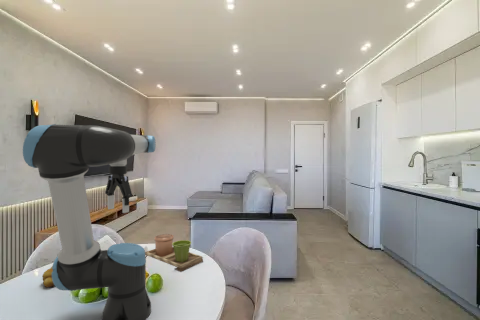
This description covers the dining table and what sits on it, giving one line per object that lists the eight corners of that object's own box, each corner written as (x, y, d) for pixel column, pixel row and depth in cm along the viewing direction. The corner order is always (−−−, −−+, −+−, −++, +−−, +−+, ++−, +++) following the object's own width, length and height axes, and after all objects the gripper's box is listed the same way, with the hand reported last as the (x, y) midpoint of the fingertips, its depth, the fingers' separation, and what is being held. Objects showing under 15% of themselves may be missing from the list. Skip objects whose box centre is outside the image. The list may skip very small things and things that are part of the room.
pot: (177, 252, 138) (177, 236, 138) (162, 258, 130) (161, 241, 130) (166, 248, 144) (166, 233, 144) (150, 254, 136) (150, 237, 136)
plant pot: (170, 258, 130) (170, 241, 130) (188, 255, 134) (188, 239, 134) (174, 265, 122) (174, 247, 122) (193, 261, 126) (193, 244, 126)
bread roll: (54, 290, 102) (54, 270, 102) (32, 288, 103) (32, 269, 103) (77, 275, 115) (77, 257, 115) (58, 274, 116) (58, 257, 116)
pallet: (202, 261, 129) (202, 256, 129) (180, 271, 118) (180, 266, 118) (166, 249, 147) (166, 244, 147) (144, 256, 136) (144, 252, 136)
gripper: (97, 165, 123) (97, 208, 123) (124, 166, 108) (124, 215, 108) (112, 165, 129) (113, 206, 129) (140, 165, 114) (140, 212, 114)
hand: (118, 210), depth 118 cm, fingers open, 13 cm apart
